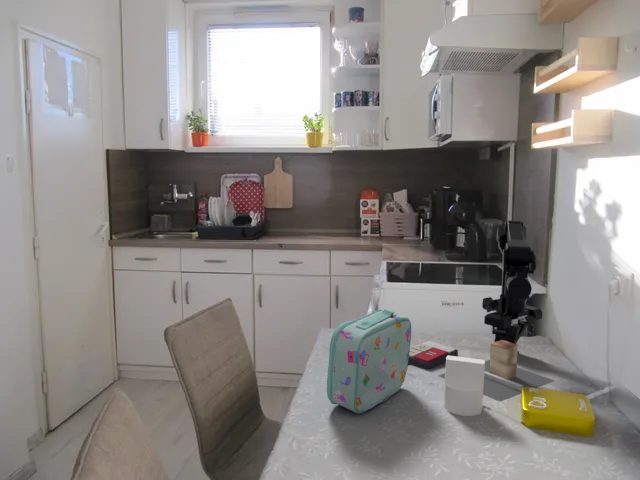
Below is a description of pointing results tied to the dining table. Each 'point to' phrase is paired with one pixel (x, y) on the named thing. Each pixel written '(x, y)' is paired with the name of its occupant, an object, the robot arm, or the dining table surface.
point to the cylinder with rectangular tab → (464, 385)
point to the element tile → (557, 411)
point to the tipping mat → (509, 383)
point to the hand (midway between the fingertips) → (511, 346)
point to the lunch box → (368, 360)
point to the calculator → (430, 354)
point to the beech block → (503, 359)
